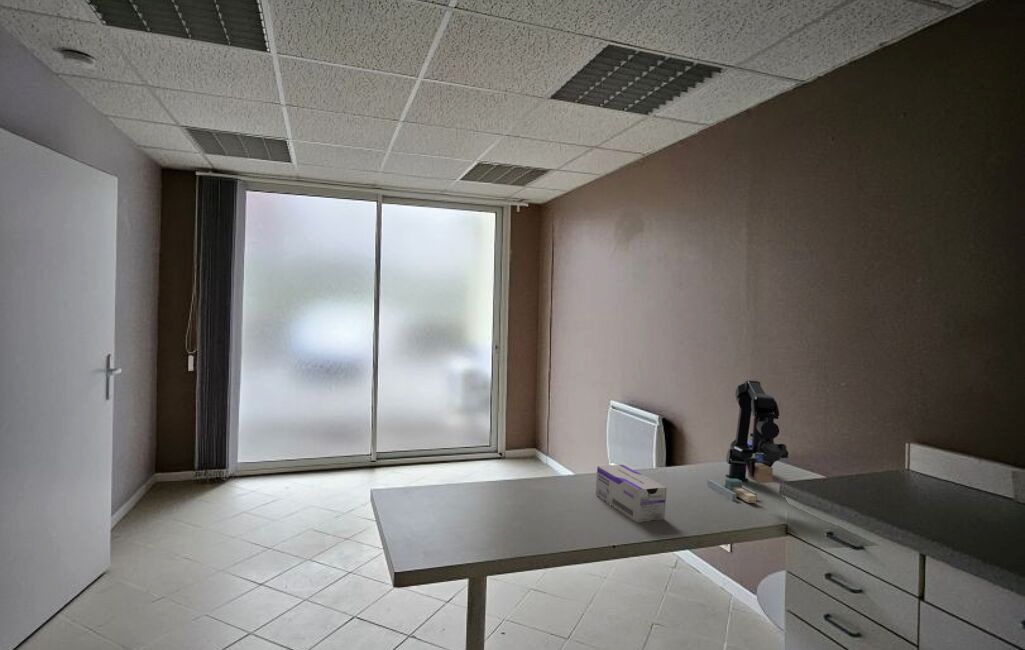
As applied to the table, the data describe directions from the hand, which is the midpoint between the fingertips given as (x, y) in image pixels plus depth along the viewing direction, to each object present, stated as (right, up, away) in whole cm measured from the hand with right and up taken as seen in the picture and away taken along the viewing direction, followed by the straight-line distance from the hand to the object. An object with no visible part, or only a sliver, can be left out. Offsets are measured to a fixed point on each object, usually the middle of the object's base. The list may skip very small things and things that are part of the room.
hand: (758, 476), depth 187 cm
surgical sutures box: (-47, -9, -6) cm, 48 cm away
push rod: (-2, -10, +9) cm, 13 cm away
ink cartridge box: (+18, -11, +44) cm, 49 cm away
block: (0, -1, -1) cm, 1 cm away
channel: (-4, -10, +14) cm, 18 cm away
